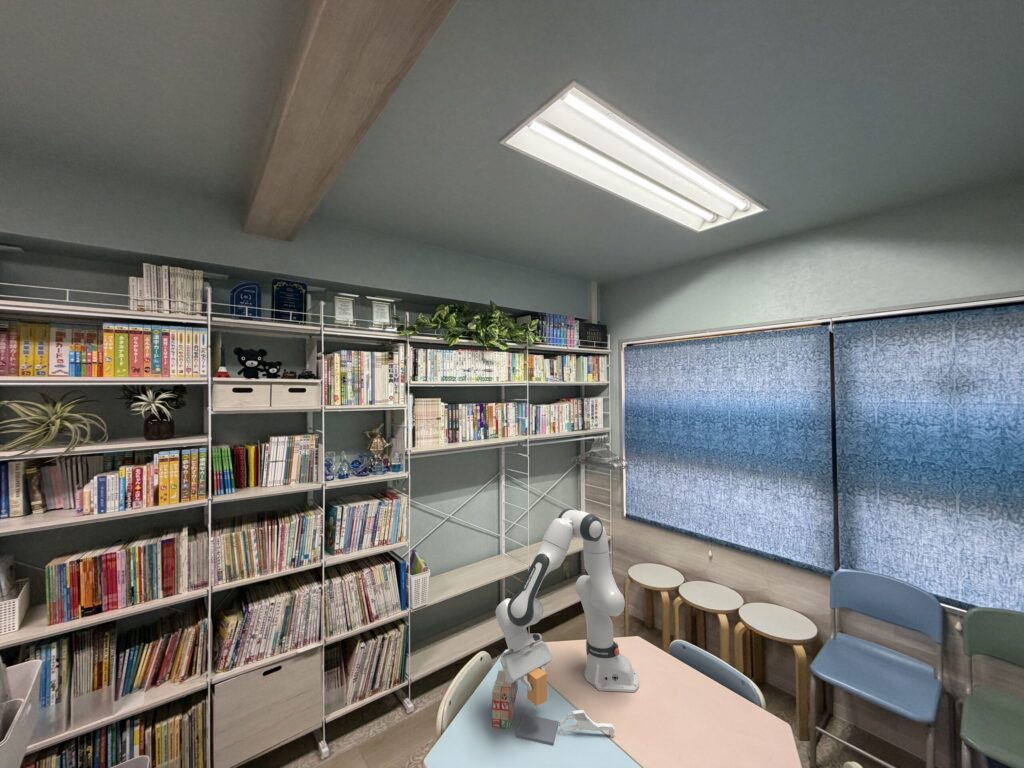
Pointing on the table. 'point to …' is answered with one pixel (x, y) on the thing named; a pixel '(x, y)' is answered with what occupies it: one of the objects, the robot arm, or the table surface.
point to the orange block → (537, 687)
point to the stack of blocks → (503, 701)
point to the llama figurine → (585, 723)
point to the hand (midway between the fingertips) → (538, 686)
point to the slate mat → (537, 729)
